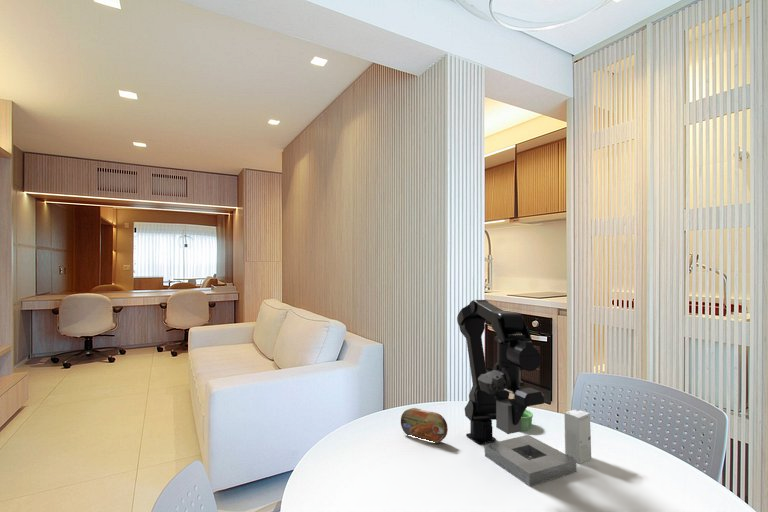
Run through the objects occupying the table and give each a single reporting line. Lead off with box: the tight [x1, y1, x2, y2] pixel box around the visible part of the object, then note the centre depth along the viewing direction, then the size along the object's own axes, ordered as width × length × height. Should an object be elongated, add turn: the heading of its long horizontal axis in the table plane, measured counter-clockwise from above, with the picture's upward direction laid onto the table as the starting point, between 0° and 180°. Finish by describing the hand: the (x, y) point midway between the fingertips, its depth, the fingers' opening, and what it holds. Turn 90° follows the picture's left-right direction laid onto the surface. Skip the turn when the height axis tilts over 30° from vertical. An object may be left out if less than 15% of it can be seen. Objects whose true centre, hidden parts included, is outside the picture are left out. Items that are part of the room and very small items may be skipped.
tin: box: [400, 407, 449, 444], centre depth 113 cm, size 15×3×8 cm, turn 56°
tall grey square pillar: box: [495, 397, 522, 435], centre depth 97 cm, size 4×4×7 cm
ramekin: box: [521, 408, 534, 431], centre depth 124 cm, size 9×9×4 cm
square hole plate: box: [484, 434, 578, 487], centre depth 99 cm, size 16×16×3 cm
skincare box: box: [563, 408, 592, 464], centre depth 102 cm, size 6×4×12 cm
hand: (508, 421), depth 97 cm, fingers closed on tall grey square pillar, 4 cm apart
